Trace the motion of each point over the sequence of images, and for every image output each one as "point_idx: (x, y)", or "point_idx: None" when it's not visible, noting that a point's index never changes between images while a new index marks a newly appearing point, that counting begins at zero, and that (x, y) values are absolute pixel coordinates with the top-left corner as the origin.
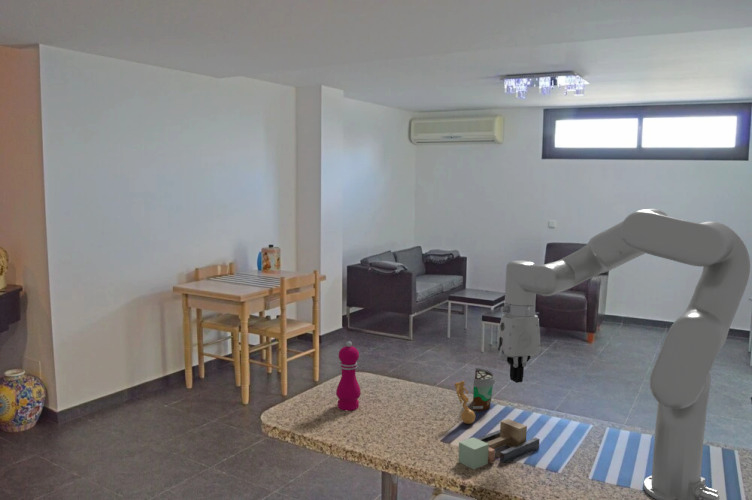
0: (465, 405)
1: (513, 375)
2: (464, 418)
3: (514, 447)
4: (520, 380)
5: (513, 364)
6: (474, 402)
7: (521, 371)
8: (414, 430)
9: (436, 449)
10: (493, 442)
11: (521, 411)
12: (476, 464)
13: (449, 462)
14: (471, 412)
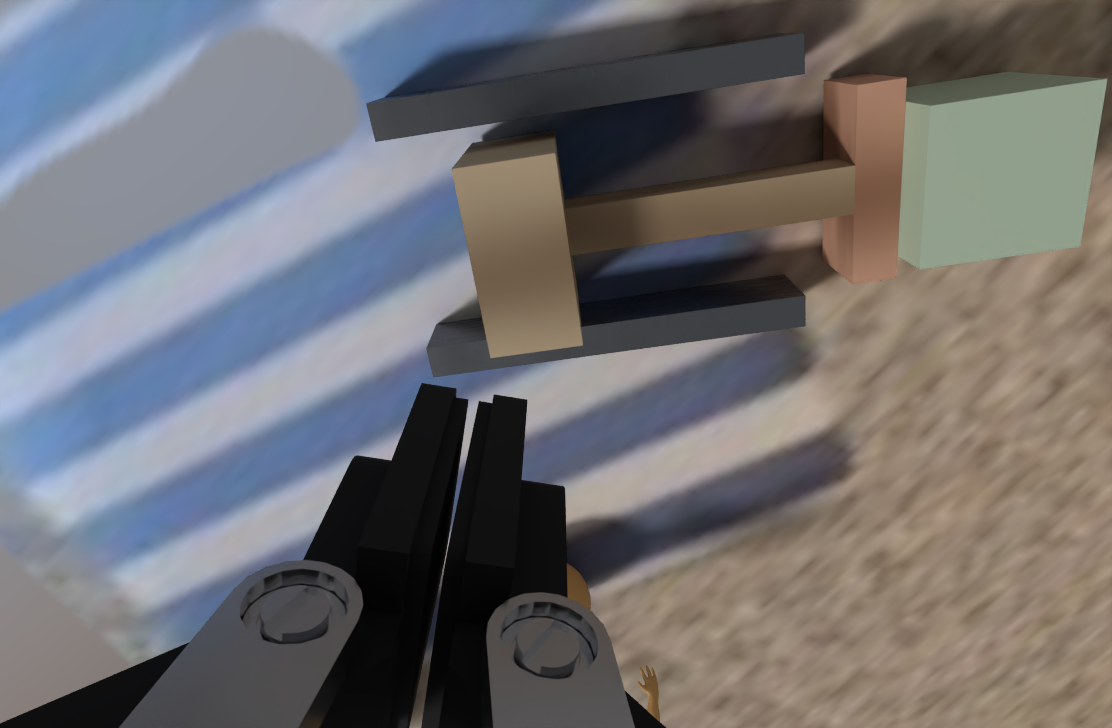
0: None
1: (565, 511)
2: (588, 591)
3: (650, 82)
4: (457, 403)
5: (615, 681)
6: None
7: (421, 493)
8: (866, 620)
9: (959, 400)
10: (765, 193)
11: (134, 564)
12: (999, 77)
13: None
14: None
